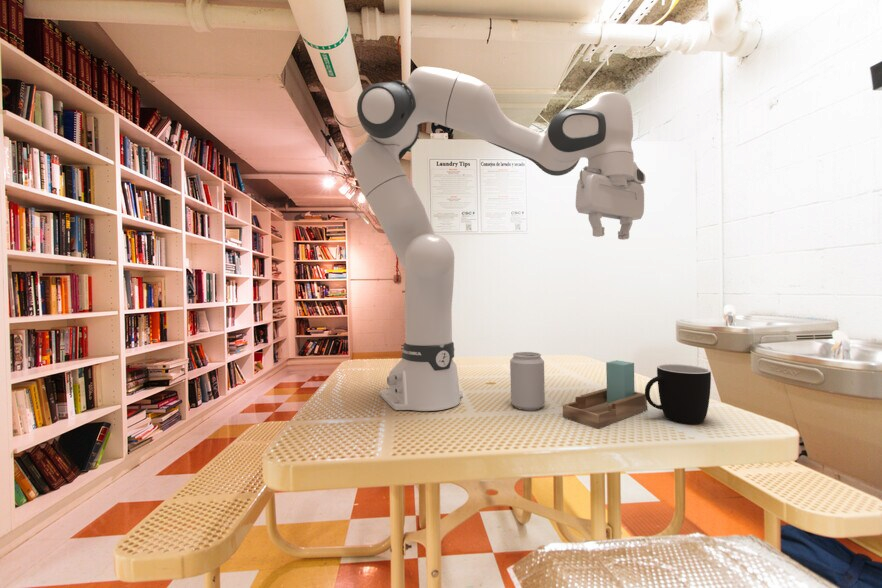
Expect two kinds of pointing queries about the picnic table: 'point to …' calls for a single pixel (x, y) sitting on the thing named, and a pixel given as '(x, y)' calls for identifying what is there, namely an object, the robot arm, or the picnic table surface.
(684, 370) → the mug
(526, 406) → the can
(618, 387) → the block
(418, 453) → the picnic table surface
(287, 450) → the picnic table surface
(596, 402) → the brown wooden tray
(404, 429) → the picnic table surface
